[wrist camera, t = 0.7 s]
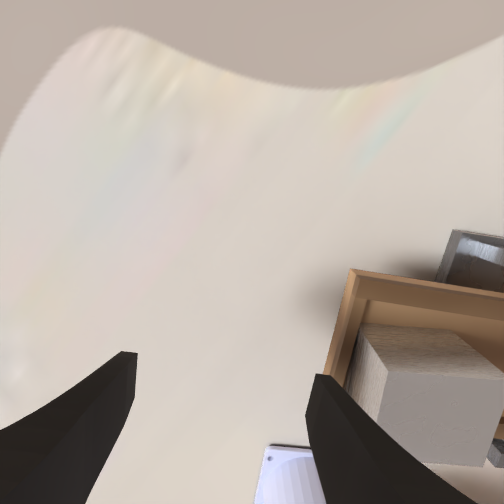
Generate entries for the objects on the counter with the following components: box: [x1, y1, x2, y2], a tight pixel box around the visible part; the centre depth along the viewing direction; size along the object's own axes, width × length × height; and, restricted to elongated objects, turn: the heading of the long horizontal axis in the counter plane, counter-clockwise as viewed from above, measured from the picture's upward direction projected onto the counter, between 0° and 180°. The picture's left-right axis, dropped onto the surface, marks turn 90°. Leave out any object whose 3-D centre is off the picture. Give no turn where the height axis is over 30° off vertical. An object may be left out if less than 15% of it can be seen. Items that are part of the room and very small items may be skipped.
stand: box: [435, 230, 504, 468], centre depth 19 cm, size 13×6×8 cm, turn 171°
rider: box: [343, 322, 504, 467], centre depth 14 cm, size 4×5×4 cm
